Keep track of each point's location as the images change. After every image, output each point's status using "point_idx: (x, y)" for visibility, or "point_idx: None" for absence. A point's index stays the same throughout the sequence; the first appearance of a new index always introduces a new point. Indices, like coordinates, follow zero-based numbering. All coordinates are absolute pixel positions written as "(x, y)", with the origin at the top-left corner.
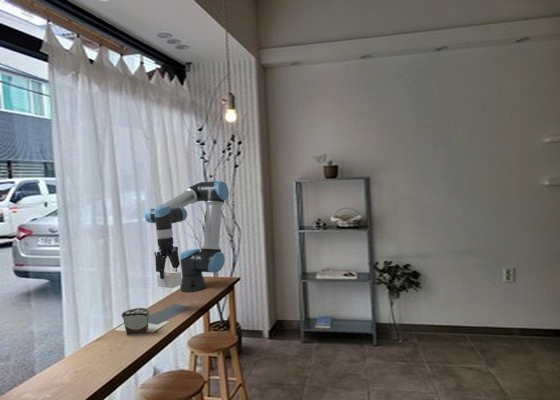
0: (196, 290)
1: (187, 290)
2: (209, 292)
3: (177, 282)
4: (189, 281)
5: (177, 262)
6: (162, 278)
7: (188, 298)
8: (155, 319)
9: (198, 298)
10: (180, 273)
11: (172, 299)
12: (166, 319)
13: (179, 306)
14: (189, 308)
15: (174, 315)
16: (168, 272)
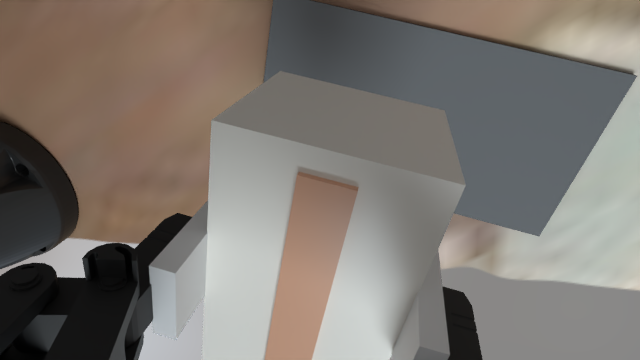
0: (34, 144)
1: (64, 191)
2: (12, 44)
3: (346, 100)
4: (3, 206)
5: (11, 333)
6: (467, 299)
7: (145, 129)
8: (524, 142)
9: (122, 60)
10: (229, 118)
11: (187, 214)
12: (532, 60)
13: None
14: (309, 4)
15: (452, 43)
16: (248, 319)
